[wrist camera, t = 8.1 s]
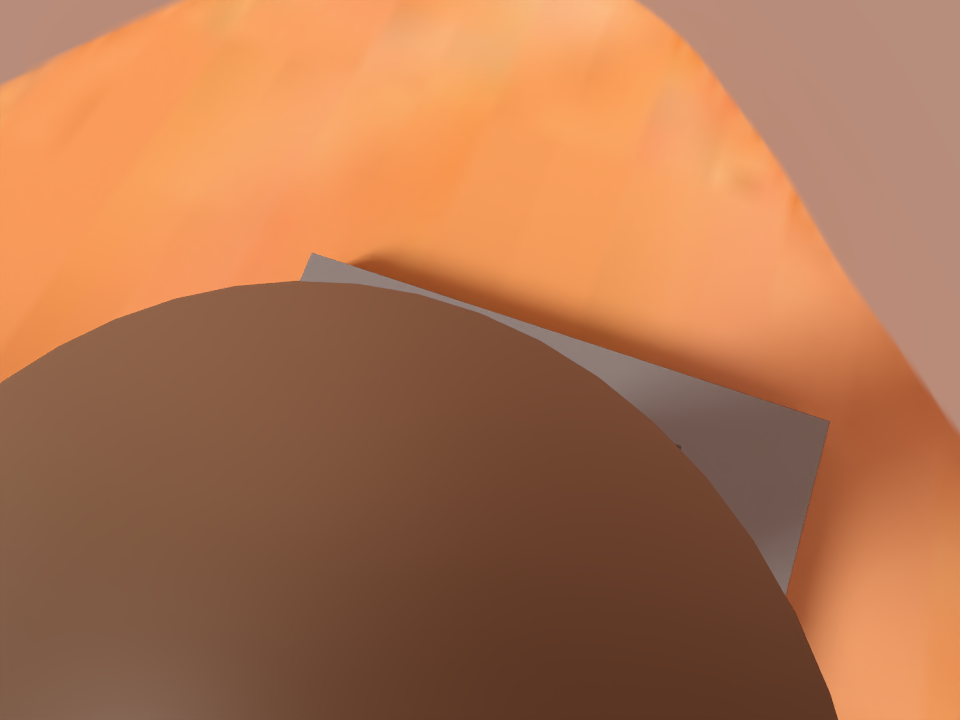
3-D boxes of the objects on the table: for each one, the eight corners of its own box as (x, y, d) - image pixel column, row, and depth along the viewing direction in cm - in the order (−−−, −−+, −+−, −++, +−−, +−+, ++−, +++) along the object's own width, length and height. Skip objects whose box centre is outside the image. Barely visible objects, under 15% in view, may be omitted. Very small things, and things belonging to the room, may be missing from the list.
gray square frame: (659, 974, 19) (674, 1030, 17) (135, 728, 22) (97, 753, 20) (802, 426, 22) (829, 421, 20) (328, 270, 25) (311, 252, 23)
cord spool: (617, 691, 15) (1081, 1726, 2) (357, 719, 15) (-434, 1751, 3) (575, 427, 17) (721, 213, 4) (340, 458, 17) (-211, 351, 4)
